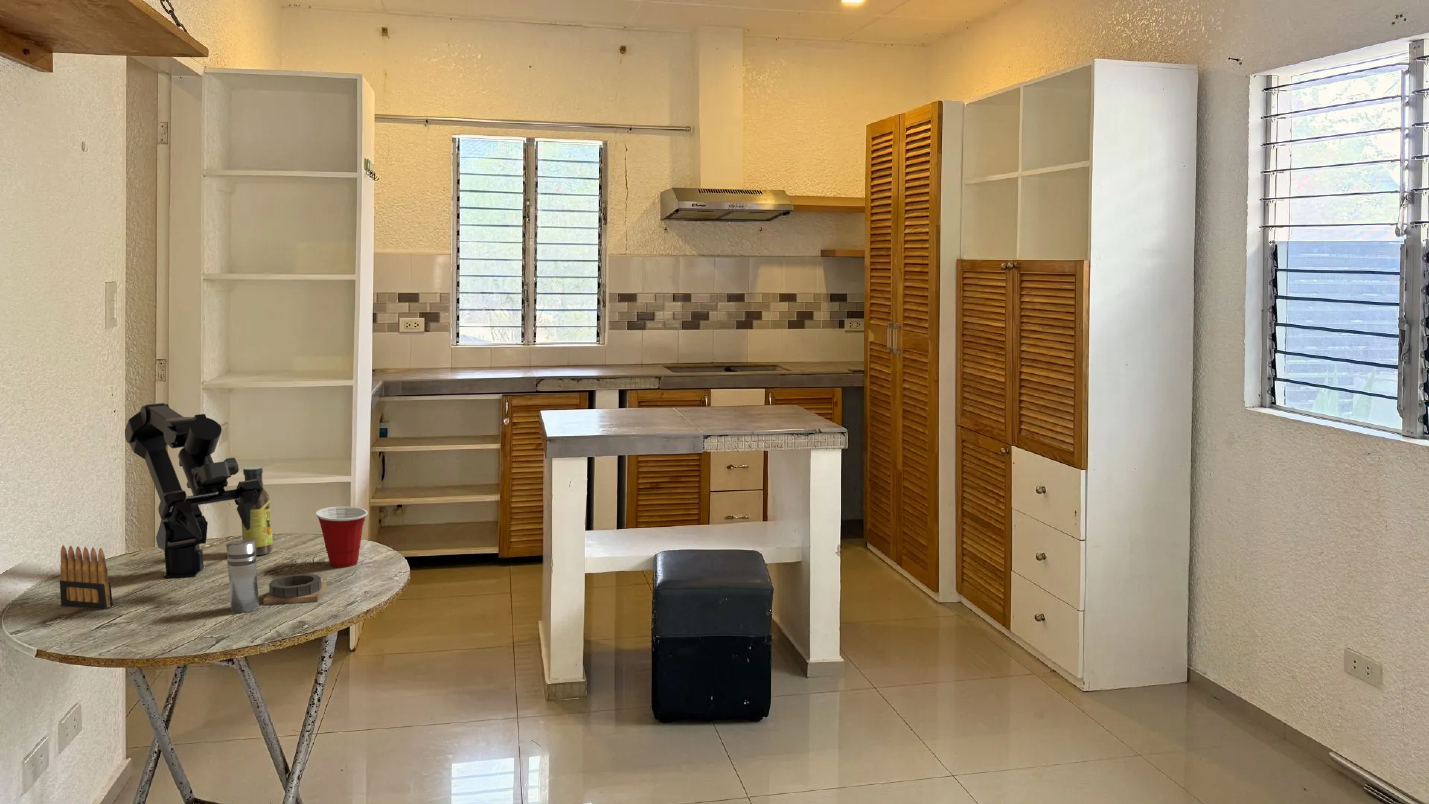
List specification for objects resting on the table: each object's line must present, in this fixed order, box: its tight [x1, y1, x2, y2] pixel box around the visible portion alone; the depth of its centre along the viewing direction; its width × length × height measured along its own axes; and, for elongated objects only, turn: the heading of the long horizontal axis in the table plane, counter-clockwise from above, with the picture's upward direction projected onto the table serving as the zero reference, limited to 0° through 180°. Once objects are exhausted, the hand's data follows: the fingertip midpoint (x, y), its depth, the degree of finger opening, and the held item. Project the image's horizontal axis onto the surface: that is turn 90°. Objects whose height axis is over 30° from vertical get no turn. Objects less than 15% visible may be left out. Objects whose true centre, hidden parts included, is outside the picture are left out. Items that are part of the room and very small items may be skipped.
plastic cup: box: [315, 505, 369, 568], centre depth 242 cm, size 11×11×12 cm
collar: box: [263, 573, 328, 605], centre depth 220 cm, size 10×10×3 cm
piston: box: [226, 539, 260, 614], centre depth 212 cm, size 5×5×13 cm
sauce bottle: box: [240, 465, 274, 556], centre depth 251 cm, size 6×6×20 cm
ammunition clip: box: [59, 544, 114, 610], centre depth 214 cm, size 11×2×12 cm, turn 76°
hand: (225, 533), depth 216 cm, fingers open, 9 cm apart
